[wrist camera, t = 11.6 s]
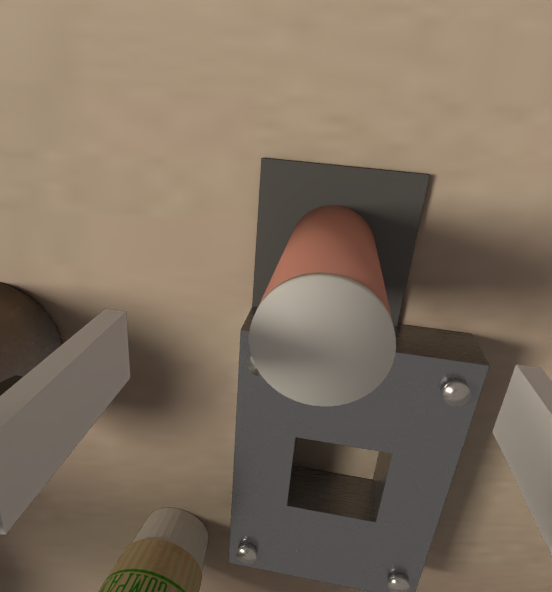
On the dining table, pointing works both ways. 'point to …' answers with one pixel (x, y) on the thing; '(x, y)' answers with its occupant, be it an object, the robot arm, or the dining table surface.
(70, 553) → the dining table surface
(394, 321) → the mat
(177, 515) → the coffee cup
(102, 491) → the dining table surface
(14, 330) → the pillar candle
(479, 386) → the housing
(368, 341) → the pink round peg
